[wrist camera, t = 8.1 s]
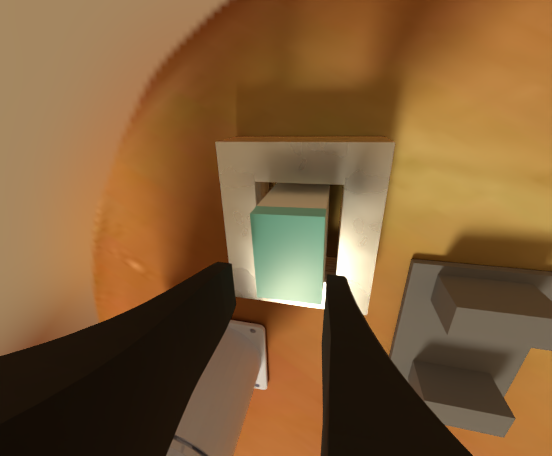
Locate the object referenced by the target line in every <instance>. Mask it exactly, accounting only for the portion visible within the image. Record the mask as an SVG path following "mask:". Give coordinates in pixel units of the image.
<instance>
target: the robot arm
mask: <svg viewBox="0 0 552 456" xmlns="http://www.w3.org/2000/svg"><path fill="white" fill-rule="evenodd" d="M235 306H236V298H235V289H234V280H233V270H232V264H231V263H222V262H217V263H215V264H213V265H211V266H209V267H207V268H205V269H204V270H202V271H200V272H199V273H197V274H195V275H194V276H192V277H190V278H188V279H187V280H185V281H183V282H182V283H180V284H178V285H176V286H175V287H173V288H171V289H169V290H168V291H166V292H164V293H162V294H160V295H158V296H156V297H154V298H153V299H151V300H149V301H147V302H145V303H143V304H141V305H139V306H137V307H135V308H133V309H131V310H129V311H126V312H124V313H122V314H120V315H117V316H115V317H113V318H111V319H108V320H106V321H103V322H101V323H98V324H96V325H93V326H90V327H88V328H85V329H82V330H80V331H77V332H75V333H72V334H69V335H67V336H64V337H61V338H58V339H55V340H52V341H49V342H46V343H43V344H39V345H37V346H33V347H30V348H27V349H23V350H20V351H17V352H13V353H10V354H7V355H3V356H0V456H233V455H234V451H235V448H236V445H237V442H238V439H239V435H240V432H241V429H242V426H243V422H244V419H245V416H246V413H247V410H248V406H249V403H250V400H251V397H252V394H253V390H254V388H257V389H262V390H265V389H267V386H268V375H267V356H266V336H265V328H264V327H263V326H262V325H260V324H254V323H247V322H241V321H235V320H231V317H232V314H233V312H234V309H235ZM253 329H254V330H253ZM322 383H323V428H322V444H321V456H473V455H472V454H471V453H470V452H469V451H468V450H467V449H466V448H465V447H464V446H463V445H462V444H461V443H460V442H459V440H458V439H457V438H456V437H455V436H454V435H453V434H452V433H451V432H450V431H449V430H448V428H447V427H446V426H445V425H444V424H443V423H442V422H441V420H440V419H439V418H438V417H437V416H436V415H435V413H434V412H433V411H432V410H431V409H430V408H429V407H428V405H427V404H426V403H425V402H424V401H423V400H422V399H421V397H420V396H419V395H418V394H417V393H416V391H415V390H414V389H413V388H412V386H411V385H410V384H409V383H408V381H407V380H406V379H405V378H404V376H403V375H402V374H401V372H400V371H399V370H398V368H397V367H396V366H395V364H394V363H393V362H392V360H391V359H390V357H389V356H388V355H387V353H386V352H385V350H384V349H383V347H382V346H381V344H380V343H379V341H378V340H377V338H376V336H375V335H374V333H373V332H372V330H371V328H370V327H369V325H368V323H367V321H366V320H365V318H364V316H363V314H362V312H361V310H360V309H359V307H358V305H357V303H356V301H355V298H354V296H353V294H352V292H351V289H350V287H349V284H348V281H347V278H346V277H345V276H340V275H331V274H327V281H326V293H325V307H324V320H323V334H322Z"/></svg>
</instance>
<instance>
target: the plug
mask: <svg viewBox="0 0 552 456" xmlns="http://www.w3.org/2000/svg"><path fill="white" fill-rule="evenodd" d="M329 197H330V184H304V183H278V182H277V183H276V184H275V186H274V187H273V188H272V189H271V190H270V191H269V192H268V193H267V195H266V196H265V197H264V198H263V199H262V200H261V201H260V203H259V204H258V205H257V206H256V207H255V208H254V209H253V211H252V212H251V213H250V222H251V234H252V245H253V256H254V267H255V279H256V290H257V297H259V298H267V299H276V300H284V301H293V302H301V303H309V304H318V305H322V295H323V285H324V275H325V264H326V254H327V241H328V219H329Z"/></svg>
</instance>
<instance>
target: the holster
mask: <svg viewBox="0 0 552 456" xmlns="http://www.w3.org/2000/svg"><path fill="white" fill-rule="evenodd" d="M531 348H536V349H543V350H550V351H552V272H549V271H538V270H527V269H517V268H506V267H495V266H484V265H473V264H462V263H451V262H441V261H430V260H419V259H411V264H410V268H409V272H408V277H407V281H406V285H405V290H404V294H403V298H402V303H401V307H400V311H399V315H398V320H397V324H396V328H395V333H394V337H393V341H392V346H391V350H390V354H389V357H390V359H391V360H392V362H393V363H394V364H395V366H396V367H397V368H398V370H399V371H400V372H401V374H402V375H403V376H404V378H405V379H406V380H407V381H408V383H409V384H410V385H411V386H412V388H413V389H414V390H415V391H416V393H417V394H418V395H419V396H420V397H421V399H422V400H423V401H424V402H425V403H426V404H427V405H428V407H429V408H430V409H431V410H432V411H433V412H434V413H435V415H436V416H437V417H438V418H439V419H440V420H441V422H442V423H443V424H444V425H448V426H452V427H457V428H462V429H466V430H471V431H476V432H480V433H485V434H490V435H494V436H499V437H505V435H506V433H507V432H508V430H509V428H510V427H511V425H512V424H513V422H514V420H515V417H514V415H513V413H512V412H511V410H510V408H509V406H508V405H507V403H506V401H505V399H504V396H505V394H506V392H507V391H508V389H509V387H510V385H511V383H512V381H513V380H514V378H515V376H516V374H517V372H518V370H519V369H520V367H521V365H522V363H523V361H524V360H525V358H526V356H527V354H528V352H529V350H530V349H531Z"/></svg>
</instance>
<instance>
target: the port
mask: <svg viewBox="0 0 552 456" xmlns="http://www.w3.org/2000/svg"><path fill="white" fill-rule="evenodd" d="M215 144H216V153H217V162H218V171H219V180H220V189H221V197H222V206H223V215H224V224H225V233H226V242H227V250H228V259H229V263H231V264H232V270H233V280H234V289H235V297H241V298H248V299H256V300H263V301H270V302H277V303H284V304H291V305H299V306H306V307H313V308H320V309H324V307H325V293H326V281H327V274H331V275H340V276H345V277H346V278H347V281H348V284H349V287H350V289H351V292H352V294H353V296H354V298H355V301H356V303H357V305H358V307H359V309H360V310H361V312H362V314H363V315H367V312H368V306H369V300H370V294H371V288H372V281H373V275H374V269H375V263H376V257H377V251H378V245H379V239H380V233H381V227H382V221H383V215H384V209H385V203H386V197H387V190H388V184H389V178H390V172H391V166H392V160H393V154H394V148H395V142H394V141H392V140H391V139H389V138H387V137H385V136H236V137H232V138H228V139H224V140H220V141H216V142H215ZM269 182H278V183H304V184H331V185H343V187H342V198H341V209H340V221H339V232H338V243H337V254H336V258H335V257H326V264H325V275H324V285H323V295H322V305H318V304H309V303H301V302H293V301H284V300H276V299H267V298H259V297H257V290H256V279H255V267H254V256H253V245H252V234H251V222H250V213H251V212H252V211H253V209H254V208H255V207H256V206H257V205H258V204H259V203H260V201H261V200H262V199H263V198H264V197H265V196H266V195H267V193H268V192H269Z"/></svg>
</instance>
